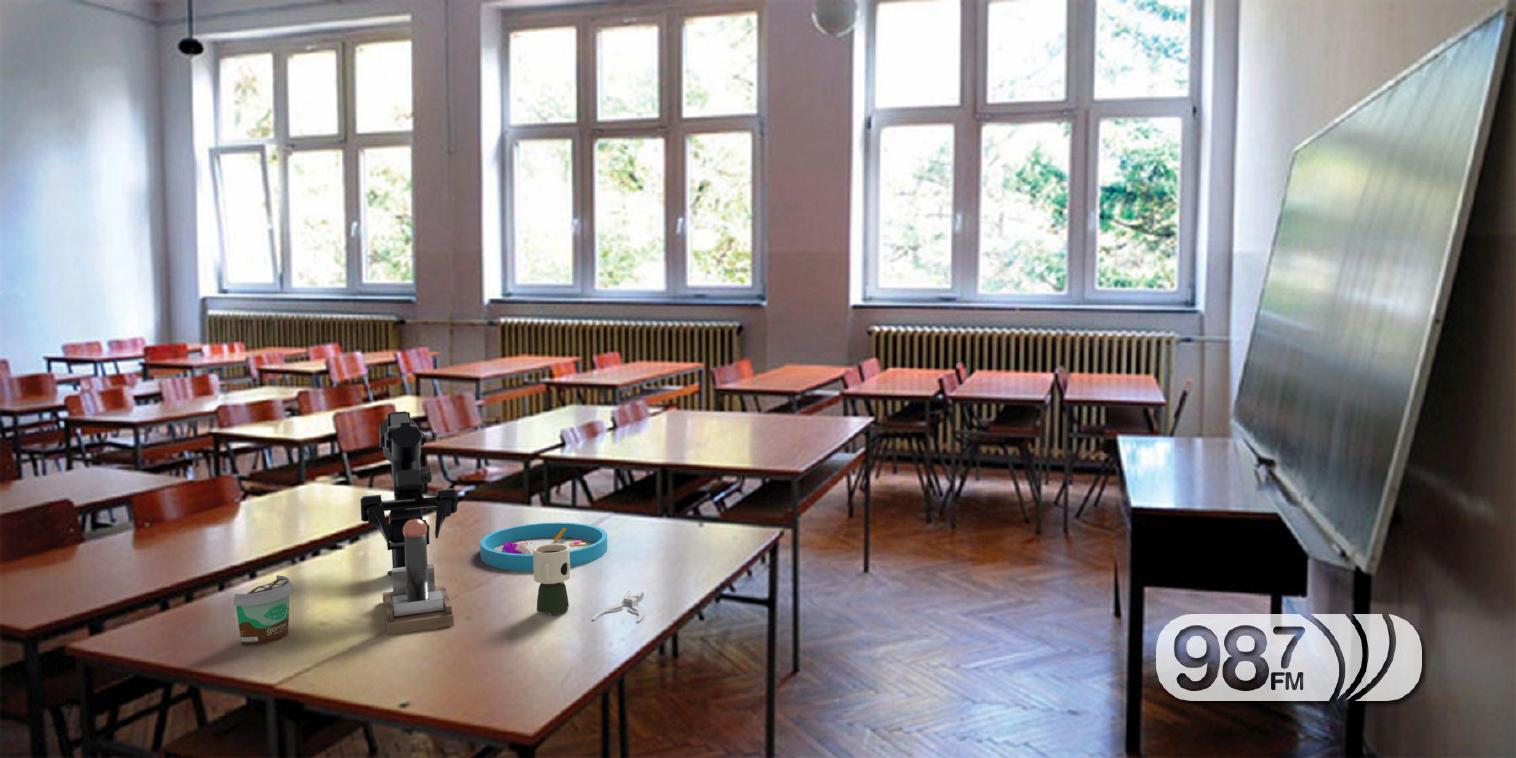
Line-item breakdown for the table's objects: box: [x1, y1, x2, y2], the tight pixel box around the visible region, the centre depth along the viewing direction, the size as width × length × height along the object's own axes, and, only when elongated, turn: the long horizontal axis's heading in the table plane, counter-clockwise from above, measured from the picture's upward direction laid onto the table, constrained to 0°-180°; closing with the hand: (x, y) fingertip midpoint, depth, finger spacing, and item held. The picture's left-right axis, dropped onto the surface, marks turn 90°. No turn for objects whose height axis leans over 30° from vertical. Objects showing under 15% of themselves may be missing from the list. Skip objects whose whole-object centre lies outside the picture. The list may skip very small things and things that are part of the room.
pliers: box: [591, 590, 646, 624], centre depth 198 cm, size 10×2×15 cm
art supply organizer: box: [479, 521, 608, 572], centre depth 238 cm, size 30×30×6 cm
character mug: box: [532, 543, 571, 616], centre depth 195 cm, size 11×7×13 cm, turn 2°
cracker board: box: [382, 563, 455, 635], centre depth 195 cm, size 20×12×7 cm, turn 23°
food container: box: [232, 574, 294, 647], centre depth 183 cm, size 12×6×10 cm, turn 168°
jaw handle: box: [393, 518, 444, 617], centre depth 190 cm, size 5×9×18 cm, turn 113°
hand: (412, 539), depth 198 cm, fingers open, 9 cm apart
